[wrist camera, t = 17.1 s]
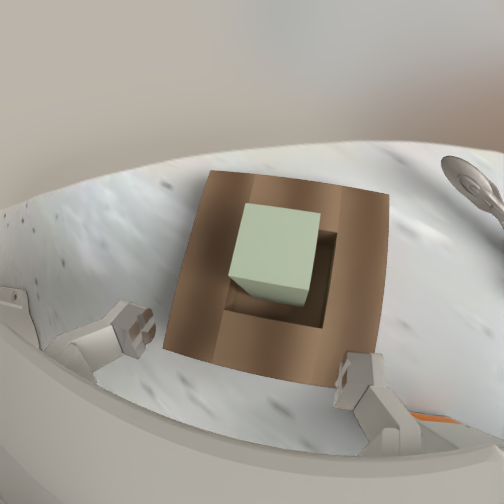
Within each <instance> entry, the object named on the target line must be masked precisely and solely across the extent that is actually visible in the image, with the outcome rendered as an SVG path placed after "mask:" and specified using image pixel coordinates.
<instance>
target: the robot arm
mask: <svg viewBox="0 0 504 504" xmlns="http://www.w3.org/2000/svg"><path fill="white" fill-rule="evenodd" d="M152 316H153V313H152V310H151V309H150V308H147V307H144V306H141V305H138V304H135V303H132V302H129V301H126V300H120V301H119V302H118V303H117V304H116V305H115V306H114V307H113V308H112V309H111V310H110V311H109V312H108V314H107V315H106V316H105V317H104V318H103V319H102V320H101V321H100V320H97V321H94V322H91V323H89V324H86V325H84V326H81V327H78V328H76V329H73V330H71V331H68V332H65V333H63V334H60V335H58V336H57V337H56V338H55V339H54V340H53V341H52V342H51V344H50V345H49V346H48V347H47V348H46V349H45V350H44V351H43V352H42V351H41V350H40V349H39V343H38V338H37V334H36V330H35V327H34V324H33V322H32V319H31V317H30V314H29V308H28V298H27V293H26V291H25V290H22V289H15V288H8V287H1V286H0V504H504V454H503V452H502V451H501V450H500V449H499V448H498V447H497V446H496V445H495V444H484V445H480V446H475V447H471V448H465V449H460V450H454V451H447V452H440V453H432V454H422V442H421V429H420V426H419V424H418V423H417V422H416V421H415V419H414V418H413V417H412V415H411V414H410V413H409V411H408V410H407V409H406V408H405V406H404V405H403V404H402V402H401V401H400V400H399V399H398V397H397V396H396V395H395V393H394V392H393V391H392V390H391V388H390V387H386V378H385V368H384V360H383V355H382V354H377V353H368V352H359V351H350V350H346V351H345V352H344V354H343V362H341V363H340V364H339V366H338V369H337V372H336V377H335V386H336V388H337V389H336V391H335V393H334V402H333V408H339V409H347V410H353V412H354V414H355V416H356V418H357V420H358V422H359V424H360V426H361V428H362V429H363V431H364V433H365V435H366V437H367V439H368V441H369V444H368V445H367V446H366V447H365V448H364V449H363V450H362V451H361V452H359V453H358V456H342V455H328V454H318V453H309V452H302V451H295V450H288V449H282V448H276V447H271V446H266V445H261V444H256V443H252V442H247V441H243V440H239V439H235V438H231V437H227V436H224V435H220V434H216V433H213V432H210V431H206V430H203V429H200V428H197V427H194V426H191V425H188V424H185V423H182V422H179V421H176V420H174V419H171V418H168V417H166V416H163V415H161V414H158V413H156V412H153V411H151V410H148V409H146V408H144V407H141V406H139V405H137V404H135V403H132V402H130V401H128V400H126V399H124V398H122V397H120V396H118V395H115V394H113V393H111V392H109V391H108V390H106V389H104V388H102V387H100V386H98V385H96V383H97V381H96V378H95V377H94V375H93V373H92V372H94V371H96V370H97V369H99V368H101V367H103V366H104V365H106V364H108V363H110V362H111V361H113V360H115V359H117V358H118V357H120V356H122V355H123V354H125V355H128V356H131V357H133V358H136V359H139V358H140V357H141V355H142V354H143V352H144V351H145V350H146V346H145V345H146V344H148V343H150V342H151V341H152V339H153V338H154V335H155V332H156V326H155V322H154V321H153V320H152V319H151V317H152Z"/></svg>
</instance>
